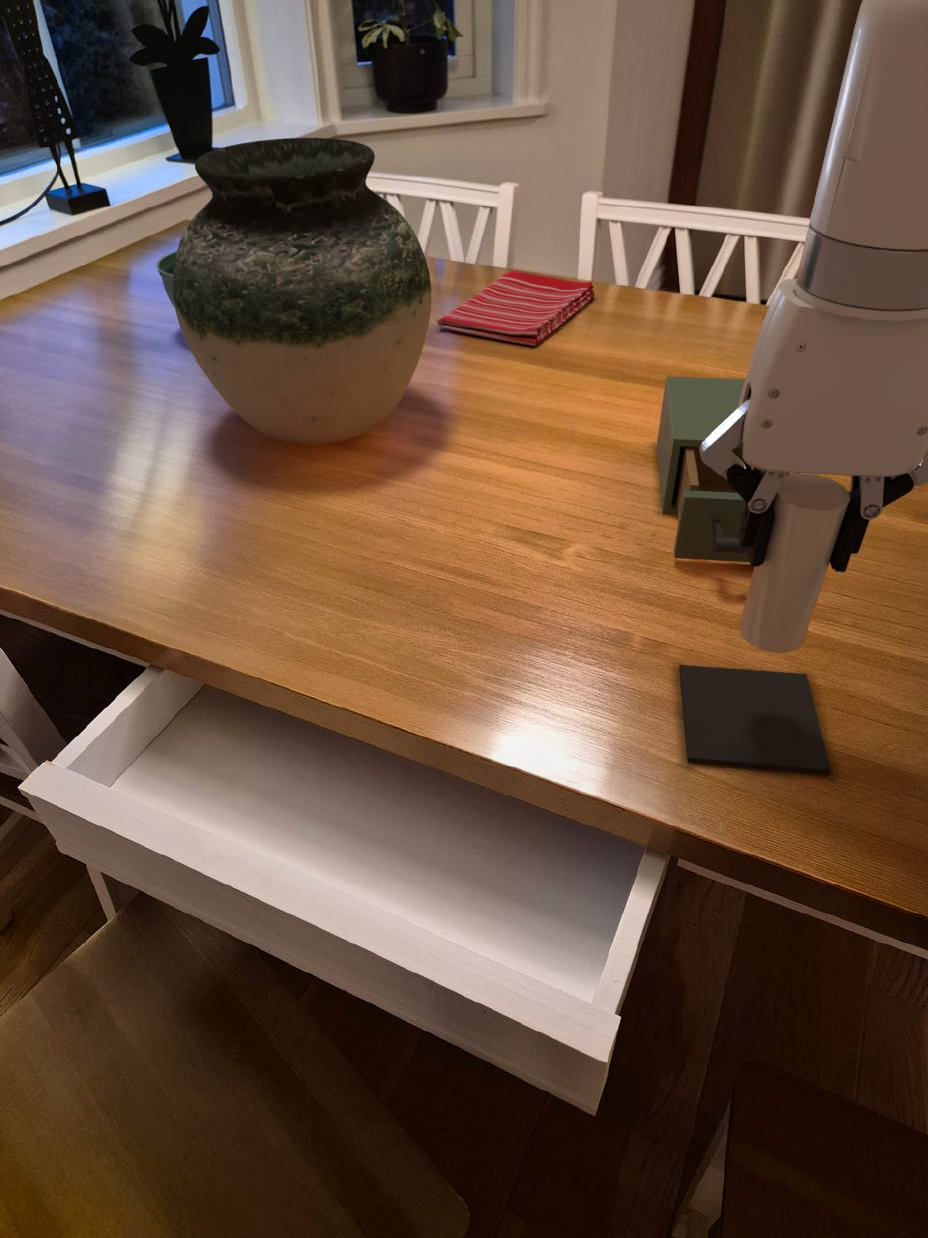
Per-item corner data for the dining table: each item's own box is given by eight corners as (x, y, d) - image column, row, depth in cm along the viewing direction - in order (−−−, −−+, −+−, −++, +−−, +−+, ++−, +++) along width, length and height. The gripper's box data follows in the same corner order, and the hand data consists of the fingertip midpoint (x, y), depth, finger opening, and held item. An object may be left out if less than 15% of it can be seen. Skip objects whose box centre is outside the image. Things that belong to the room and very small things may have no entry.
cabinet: (787, 519, 85) (808, 444, 80) (662, 513, 87) (673, 438, 81) (767, 450, 96) (784, 379, 91) (656, 445, 98) (666, 375, 92)
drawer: (806, 593, 74) (826, 529, 70) (676, 585, 76) (688, 522, 71) (777, 490, 88) (792, 431, 83) (667, 484, 89) (676, 426, 85)
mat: (804, 679, 67) (806, 673, 67) (829, 775, 60) (831, 770, 59) (679, 669, 69) (680, 664, 68) (687, 763, 61) (688, 757, 61)
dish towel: (597, 297, 136) (598, 280, 134) (537, 349, 120) (538, 330, 119) (503, 283, 143) (503, 267, 141) (435, 330, 127) (434, 312, 125)
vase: (180, 486, 93) (98, 192, 74) (236, 379, 115) (183, 131, 96) (433, 481, 93) (417, 185, 73) (441, 375, 114) (430, 124, 95)
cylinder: (798, 614, 60) (842, 475, 53) (809, 655, 57) (857, 512, 49) (735, 610, 60) (770, 471, 53) (743, 650, 57) (780, 508, 50)
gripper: (1025, 248, 44) (913, 532, 56) (702, 242, 46) (659, 518, 58) (1086, 297, 39) (947, 601, 51) (715, 287, 41) (664, 583, 53)
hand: (793, 554), depth 54 cm, fingers closed on cylinder, 4 cm apart
